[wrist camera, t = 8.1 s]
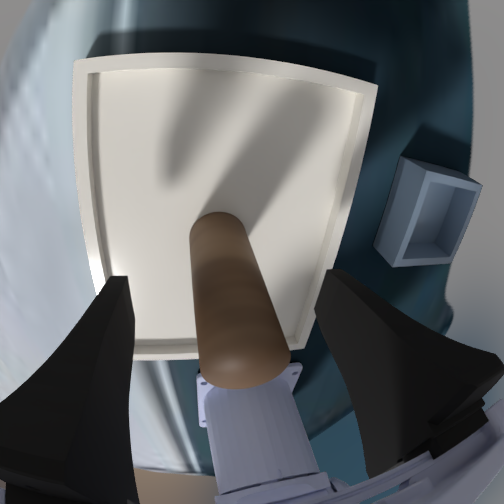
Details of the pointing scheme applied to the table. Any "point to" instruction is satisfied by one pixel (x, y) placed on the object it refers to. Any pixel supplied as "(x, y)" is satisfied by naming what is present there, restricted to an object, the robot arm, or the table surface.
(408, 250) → the grey square dish
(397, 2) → the table surface
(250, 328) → the dowel
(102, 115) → the tray
